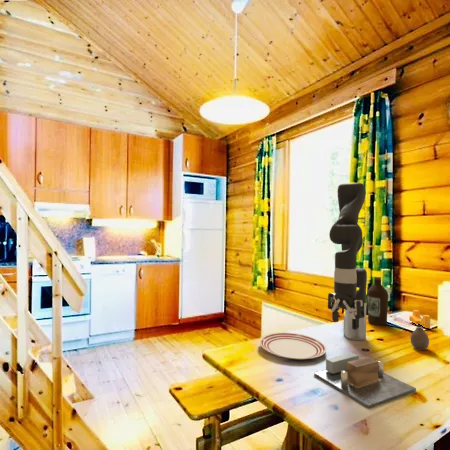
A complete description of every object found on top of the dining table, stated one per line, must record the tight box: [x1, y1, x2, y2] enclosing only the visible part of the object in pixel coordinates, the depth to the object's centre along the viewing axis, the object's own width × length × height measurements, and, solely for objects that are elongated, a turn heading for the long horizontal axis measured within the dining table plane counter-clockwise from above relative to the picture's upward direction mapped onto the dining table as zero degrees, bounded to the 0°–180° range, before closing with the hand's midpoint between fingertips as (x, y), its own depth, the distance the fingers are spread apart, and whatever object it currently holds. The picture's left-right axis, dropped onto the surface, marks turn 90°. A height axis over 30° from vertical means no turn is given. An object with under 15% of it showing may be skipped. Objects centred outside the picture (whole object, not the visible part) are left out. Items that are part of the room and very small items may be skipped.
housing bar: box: [325, 352, 360, 374], centre depth 111 cm, size 3×13×4 cm, turn 116°
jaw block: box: [347, 356, 379, 386], centre depth 103 cm, size 4×10×6 cm, turn 115°
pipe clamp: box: [408, 309, 431, 329], centre depth 168 cm, size 12×4×6 cm, turn 176°
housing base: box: [313, 360, 417, 410], centre depth 103 cm, size 22×22×6 cm
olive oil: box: [366, 276, 389, 326], centre depth 172 cm, size 11×11×25 cm
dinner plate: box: [259, 332, 327, 361], centre depth 131 cm, size 28×27×3 cm
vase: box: [410, 326, 430, 351], centre depth 135 cm, size 7×7×9 cm
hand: (345, 325), depth 111 cm, fingers open, 8 cm apart
